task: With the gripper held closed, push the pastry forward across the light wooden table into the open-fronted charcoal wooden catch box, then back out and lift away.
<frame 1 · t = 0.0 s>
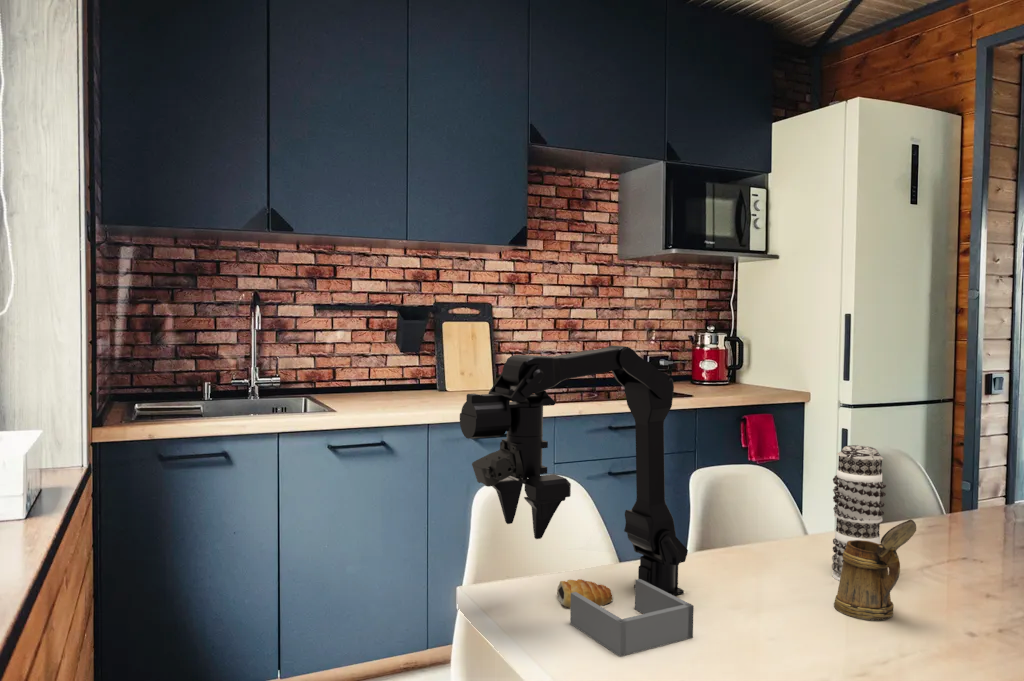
hand: (523, 530, 122), 15 cm above the table, fingers open, 9 cm apart
decorative candle: (855, 579, 145), on the table
wooden mug: (873, 616, 127), on the table
pastry: (581, 603, 132), on the table
catch box: (630, 630, 120), on the table
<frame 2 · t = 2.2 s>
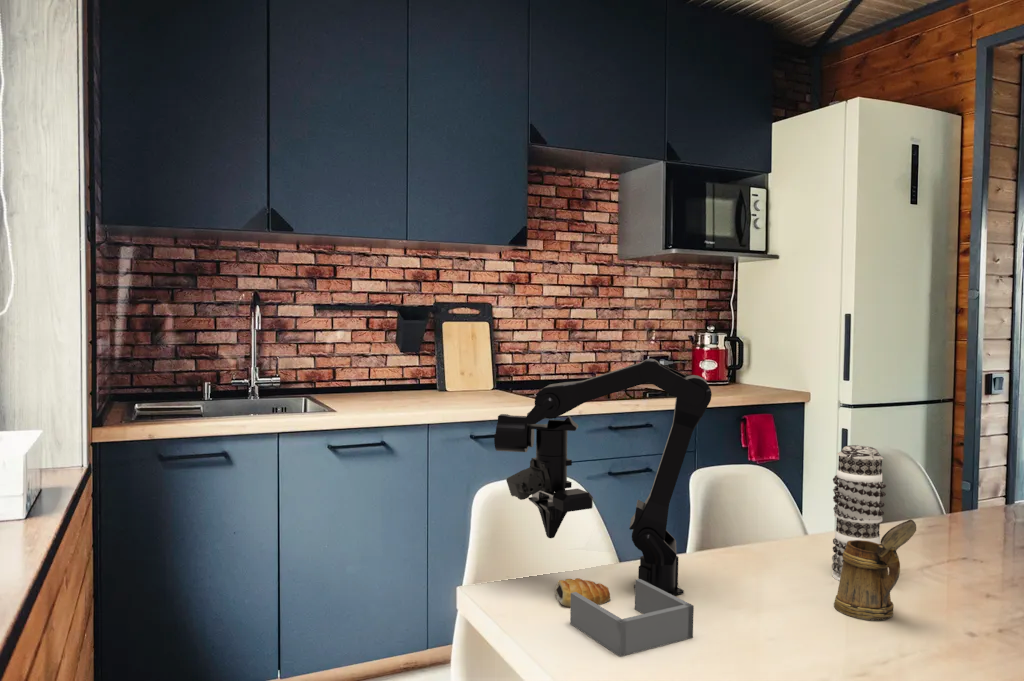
hand: (550, 537, 141), 8 cm above the table, fingers closed
nothing on the table moved.
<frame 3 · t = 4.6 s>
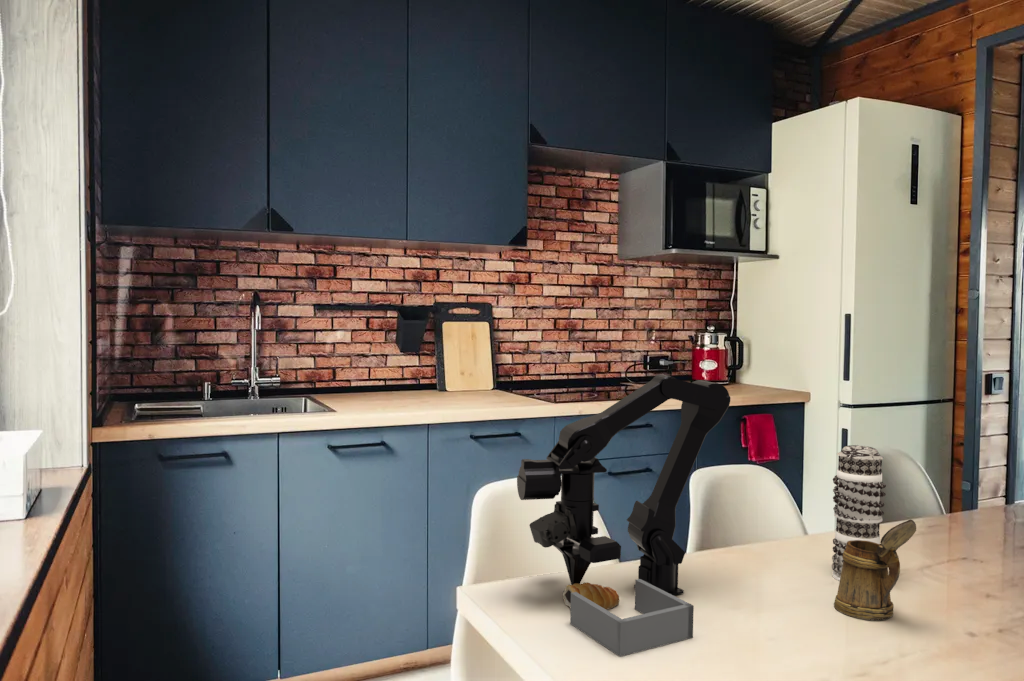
hand: (575, 585, 133), 2 cm above the table, fingers closed
pastry: (588, 606, 130), on the table, touching gripper
everything else where it was.
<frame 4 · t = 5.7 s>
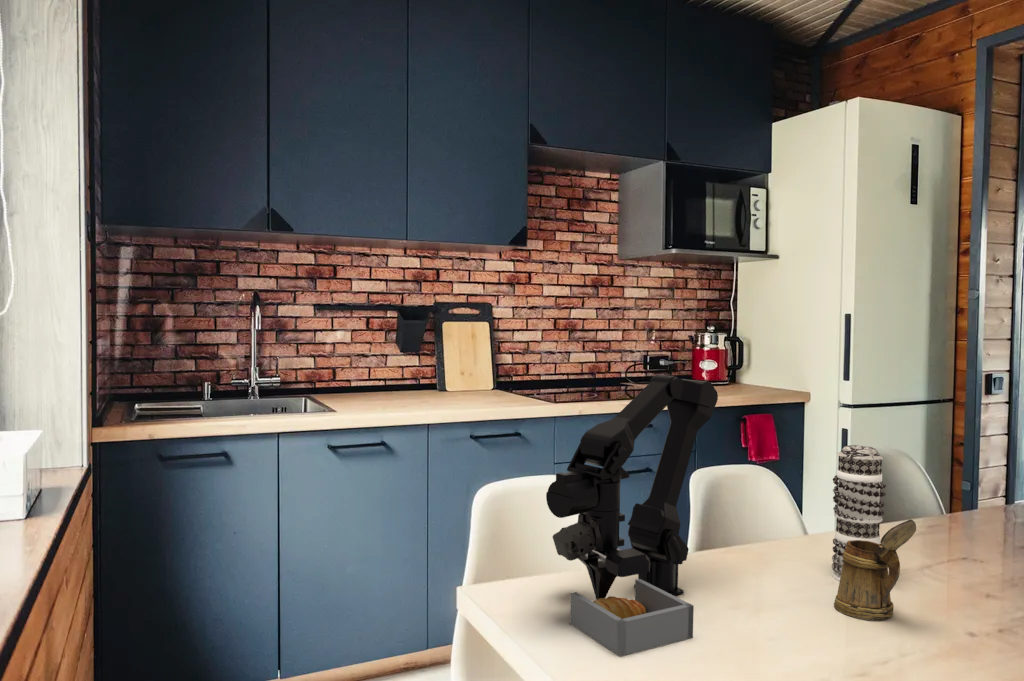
hand: (600, 600, 127), 2 cm above the table, fingers closed
pastry: (615, 622, 124), on the table
everything else where it was.
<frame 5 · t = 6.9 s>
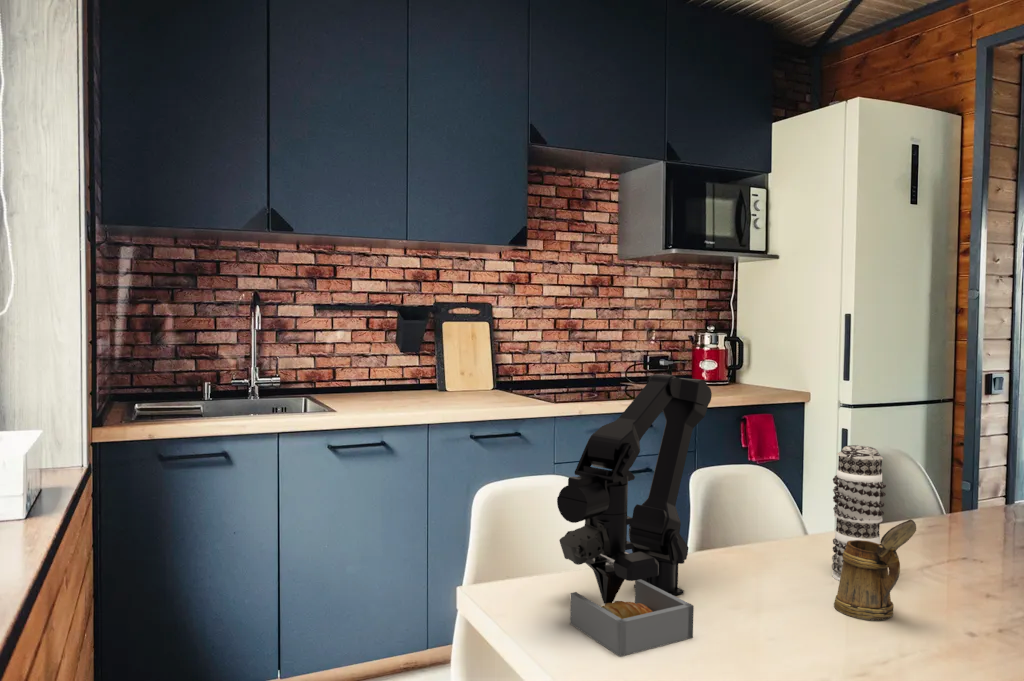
hand: (607, 604, 125), 2 cm above the table, fingers closed
pastry: (623, 626, 122), on the table
everything else where it was.
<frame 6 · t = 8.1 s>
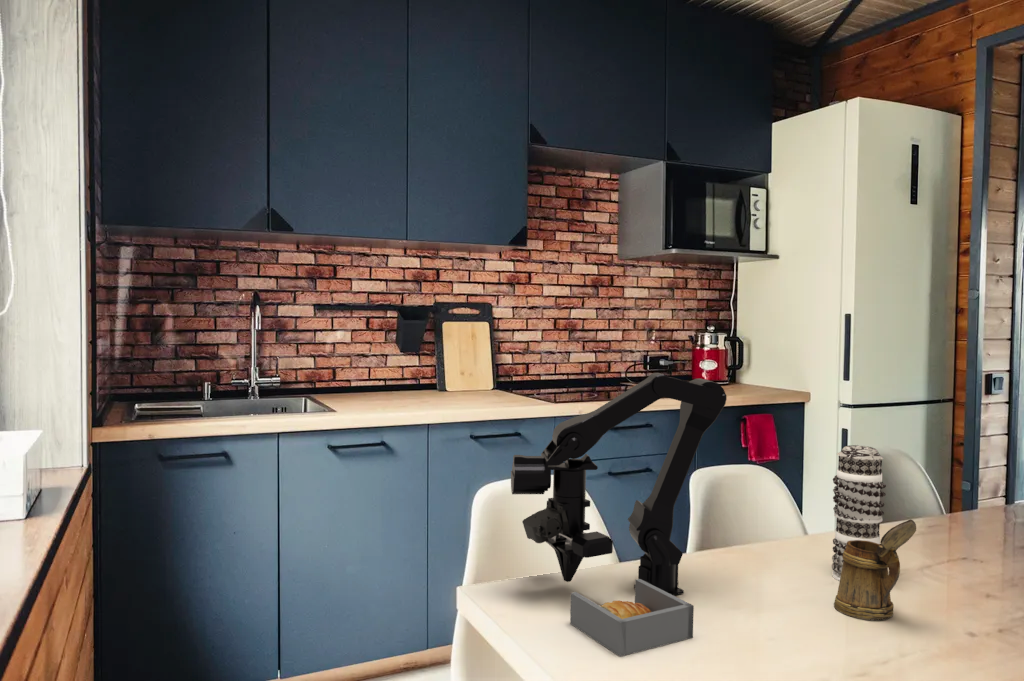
hand: (567, 581, 135), 2 cm above the table, fingers closed
nothing on the table moved.
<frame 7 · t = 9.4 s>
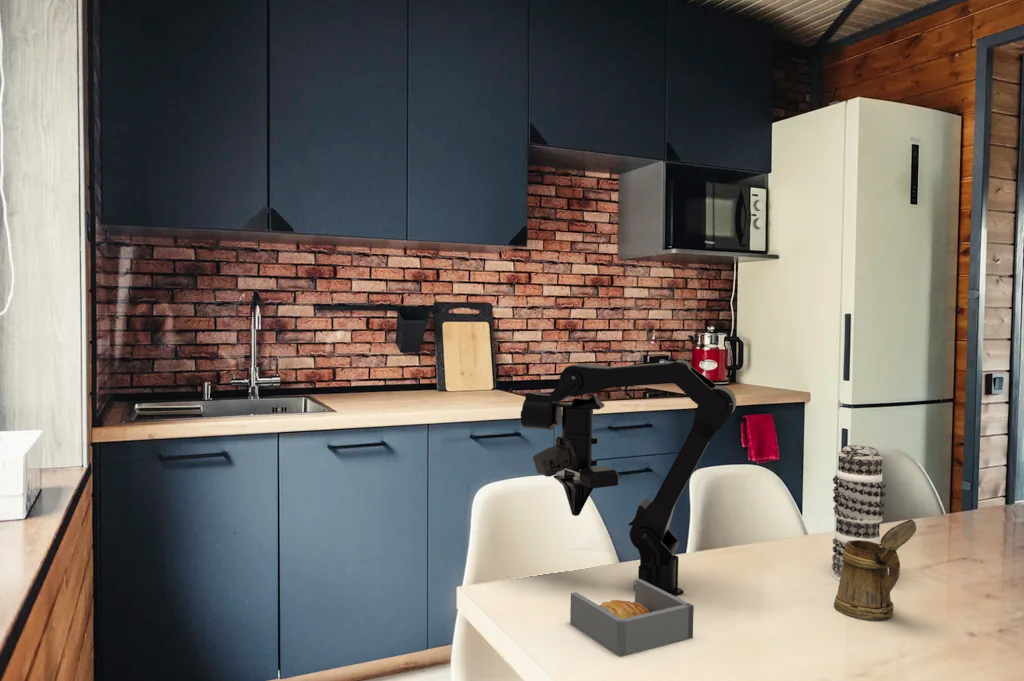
hand: (575, 515, 142), 12 cm above the table, fingers closed
nothing on the table moved.
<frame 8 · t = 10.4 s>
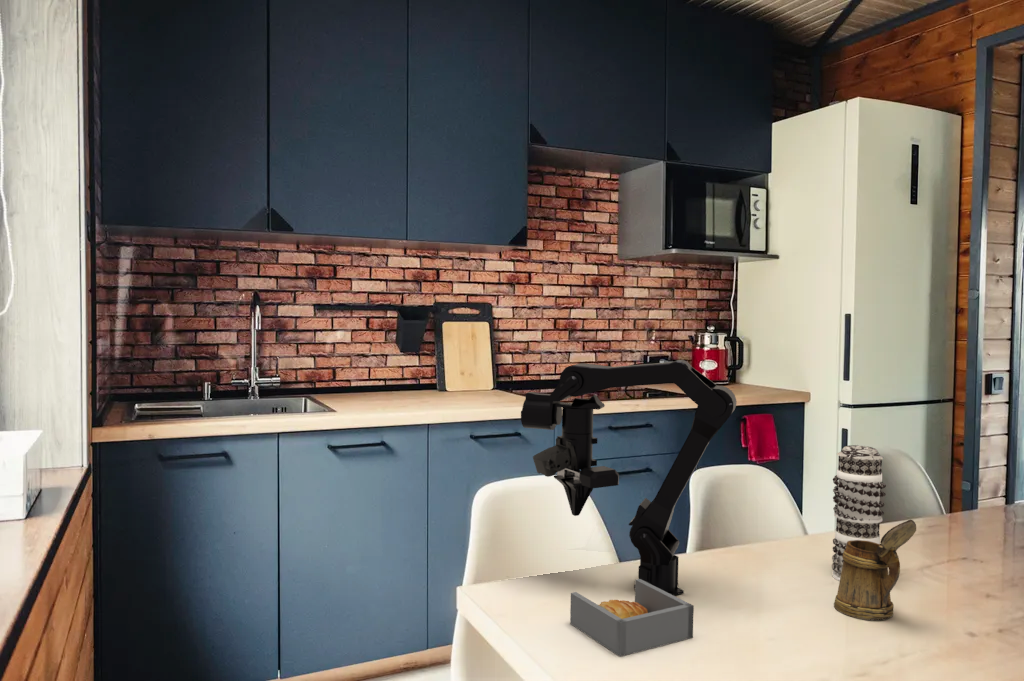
hand: (575, 515, 142), 12 cm above the table, fingers closed
nothing on the table moved.
at the end: pastry inside the target area on the catch box (3.1 cm from its centre), point -0.5 cm above the catch box's base; pastry moved 10.2 cm from its start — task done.
